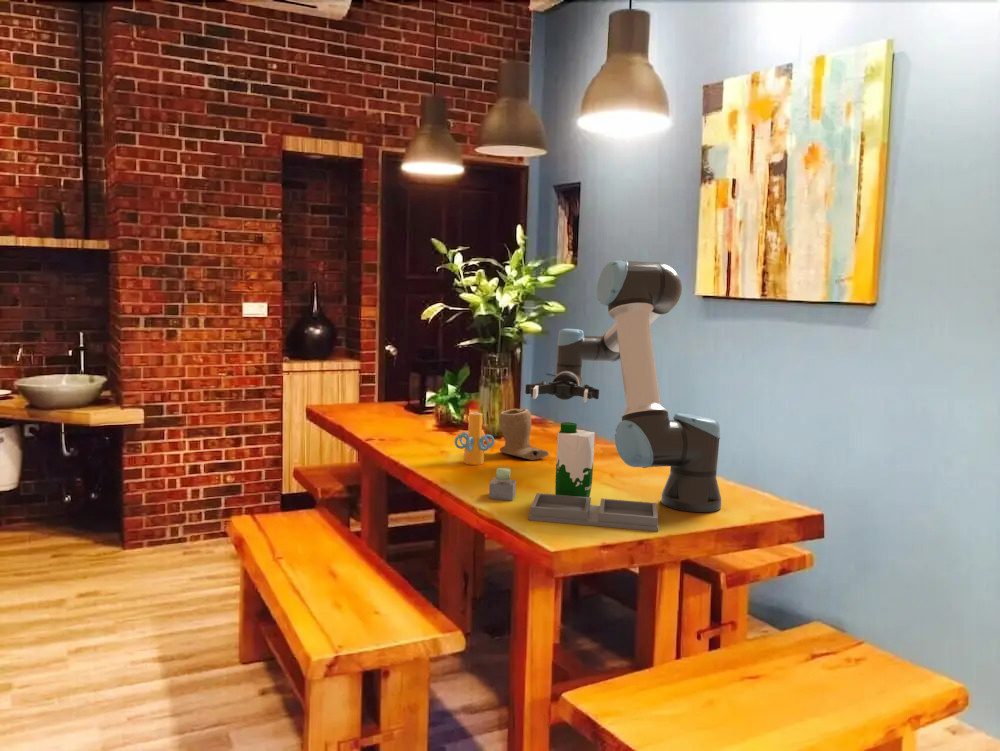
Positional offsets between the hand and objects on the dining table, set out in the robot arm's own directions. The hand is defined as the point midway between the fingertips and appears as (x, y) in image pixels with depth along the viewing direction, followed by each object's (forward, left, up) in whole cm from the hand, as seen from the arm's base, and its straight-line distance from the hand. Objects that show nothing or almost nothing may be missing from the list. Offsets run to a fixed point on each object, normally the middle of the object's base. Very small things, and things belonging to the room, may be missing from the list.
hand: (559, 395), depth 235 cm
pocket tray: (-12, +25, -25) cm, 38 cm away
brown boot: (+14, -36, -25) cm, 47 cm away
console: (+12, +14, -25) cm, 31 cm away
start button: (+12, +14, -20) cm, 27 cm away
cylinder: (+26, -22, -25) cm, 43 cm away
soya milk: (-6, +13, -25) cm, 29 cm away
